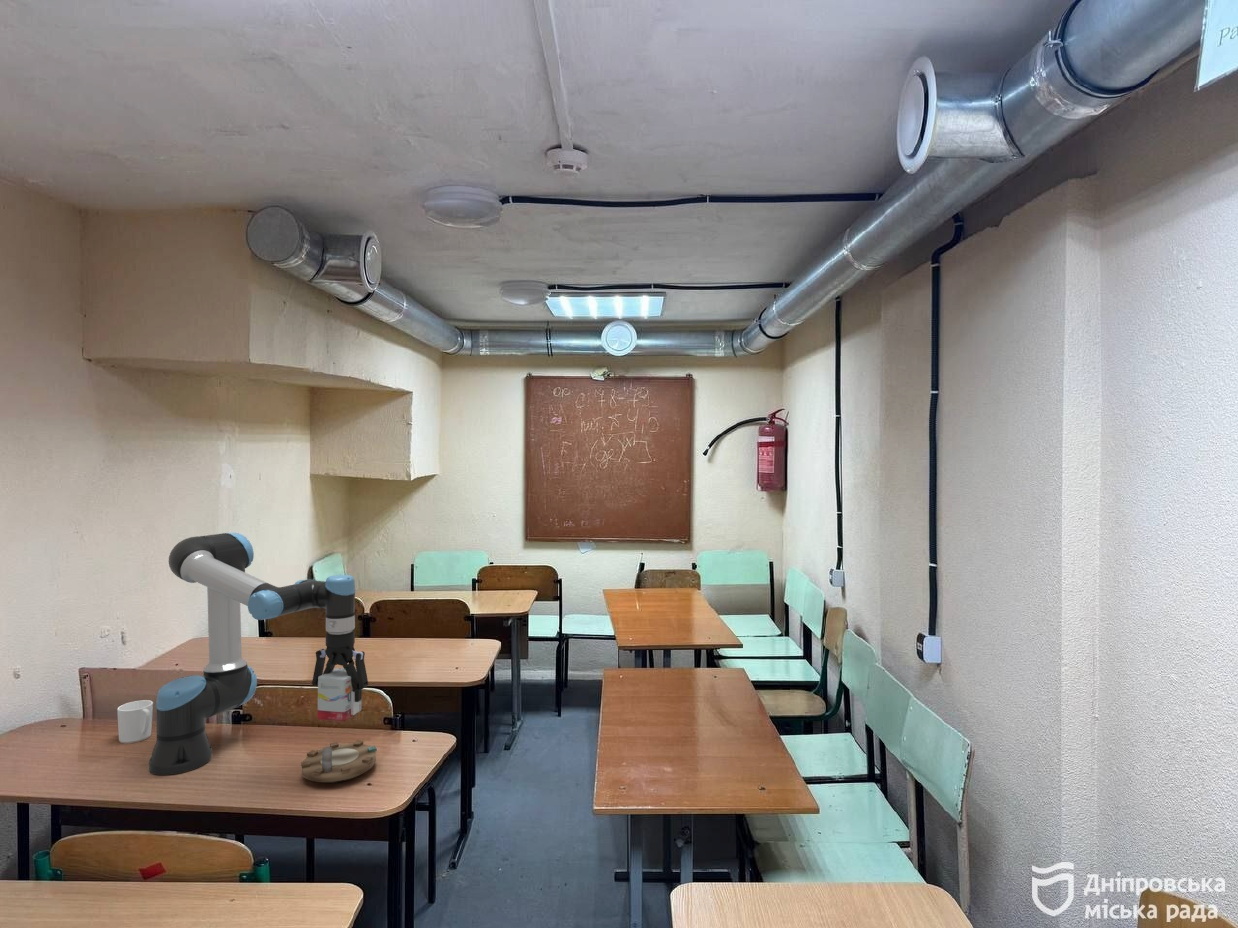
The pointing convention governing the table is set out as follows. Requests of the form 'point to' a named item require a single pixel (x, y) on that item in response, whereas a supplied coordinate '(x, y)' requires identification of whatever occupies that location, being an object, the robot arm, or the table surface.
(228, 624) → the robot arm
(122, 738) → the mug
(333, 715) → the ink box
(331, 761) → the turntable
